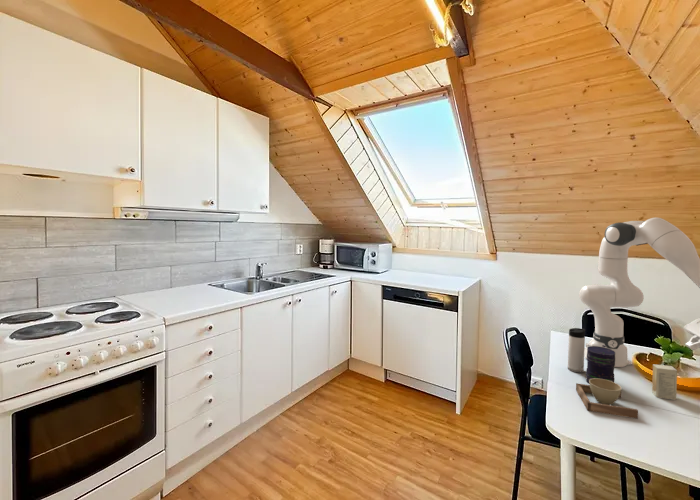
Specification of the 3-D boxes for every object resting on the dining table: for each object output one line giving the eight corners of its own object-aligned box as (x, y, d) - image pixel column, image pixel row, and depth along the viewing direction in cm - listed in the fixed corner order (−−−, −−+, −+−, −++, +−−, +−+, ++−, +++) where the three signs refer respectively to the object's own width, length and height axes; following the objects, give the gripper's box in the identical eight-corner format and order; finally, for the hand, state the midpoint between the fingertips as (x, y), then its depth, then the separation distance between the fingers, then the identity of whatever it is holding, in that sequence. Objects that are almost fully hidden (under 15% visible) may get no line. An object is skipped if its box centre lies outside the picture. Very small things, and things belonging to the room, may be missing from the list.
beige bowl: (616, 411, 121) (617, 393, 120) (584, 400, 129) (585, 383, 128) (624, 402, 127) (624, 384, 126) (593, 392, 135) (594, 375, 134)
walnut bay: (575, 390, 137) (576, 383, 137) (620, 396, 131) (620, 389, 131) (587, 410, 122) (587, 402, 122) (637, 418, 117) (638, 410, 116)
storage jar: (582, 376, 148) (583, 338, 147) (608, 379, 145) (610, 340, 144) (590, 387, 139) (592, 346, 138) (618, 390, 136) (620, 348, 134)
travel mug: (587, 373, 152) (588, 331, 150) (571, 372, 153) (572, 330, 151) (580, 367, 158) (581, 327, 156) (565, 366, 159) (566, 326, 158)
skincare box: (671, 395, 132) (673, 365, 131) (676, 400, 128) (678, 370, 127) (650, 392, 134) (652, 363, 133) (655, 397, 130) (656, 367, 129)
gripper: (701, 308, 124) (666, 331, 128) (741, 326, 105) (698, 351, 109) (716, 321, 122) (680, 343, 127) (759, 341, 104) (714, 366, 108)
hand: (688, 347), depth 118 cm, fingers closed
